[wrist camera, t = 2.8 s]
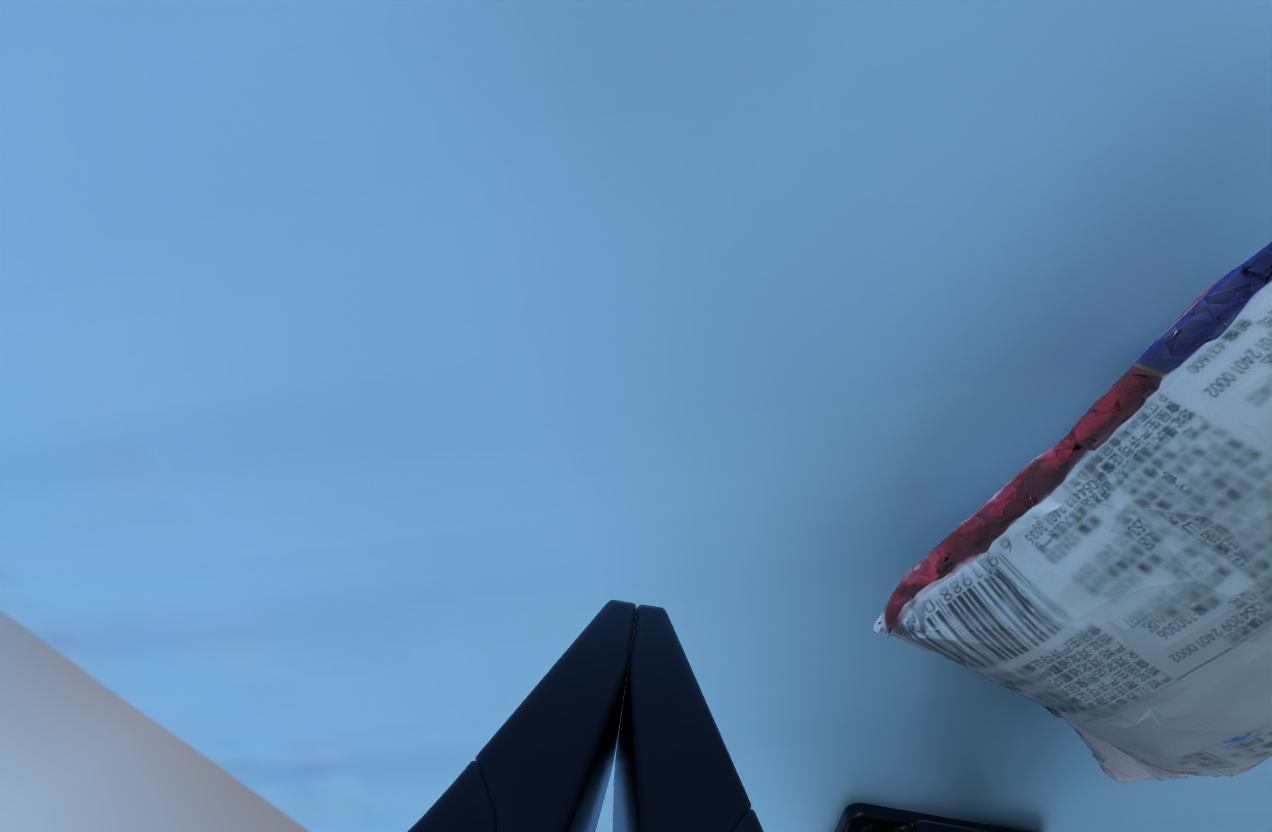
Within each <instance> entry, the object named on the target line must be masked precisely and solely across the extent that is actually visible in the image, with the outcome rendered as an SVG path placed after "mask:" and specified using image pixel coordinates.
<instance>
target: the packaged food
mask: <svg viewBox="0 0 1272 832" xmlns="http://www.w3.org/2000/svg"><path fill="white" fill-rule="evenodd" d="M873 631H875V632H877V633H878V632H879V631H884V632H886V633H887V637H888V636H889V634H891V635H894V636H896V637H898V638H901V639H903V640H905V641H906V642H908V643H910V644H912V645H913V646H915V647H918V648H920V649H922V650H930V651H935V652H938V653H940V654H942V655H944V656H946V657H947V658H949V659H951V660H953V661H955V662H957V663H959V664H961V665H963V666H965V667H967V668H969V669H971V670H974V671H976V672H977V673H979V674H981V675H983V676H984V677H986V678H988V679H989V680H991V681H994V682H996V683H998V684H1000V685H1003V686H1005V687H1007V688H1009V689H1011V690H1013V691H1015V692H1017V693H1019V694H1021V695H1023V696H1025V697H1027V698H1029V699H1031V700H1033V701H1035V702H1037V703H1039V704H1041V705H1042V706H1044V707H1045V708H1046V709H1047V710H1049V711H1050V712H1051V713H1052V714H1054V715H1055V716H1056V717H1059V718H1064V719H1065V720H1066V721H1067V723H1068V724H1069V725H1070V726H1072V727H1073V728H1074V729H1075V731H1076V732H1077V733H1078V735H1079V736H1080V738H1081V739H1082V740H1083V741H1084V743H1085V744H1086V745H1087V746H1088V747H1089V748H1090V749H1091V751H1092V752H1093V757H1094V758H1096V759H1097V760H1098V761H1099V762H1100V767H1101V768H1102V770H1103V771H1104V772H1105V773H1106V774H1107V775H1109V776H1110V777H1111V778H1112V779H1114V780H1115V781H1116V782H1122V783H1128V782H1134V781H1139V780H1145V779H1151V778H1152V777H1154V778H1156V779H1158V780H1160V781H1164V780H1168V779H1173V778H1174V779H1176V778H1188V776H1189V774H1191V775H1196V776H1201V775H1210V776H1213V777H1218V776H1222V775H1226V776H1231V777H1232V776H1234V775H1235V774H1239V773H1242V772H1245V771H1247V770H1250V769H1251V768H1253V767H1254V766H1256V765H1257V764H1259V763H1260V762H1262V761H1263V760H1265V759H1267V758H1268V757H1269V756H1271V755H1272V242H1271V243H1270V244H1269V245H1267V246H1266V247H1265V248H1263V249H1262V250H1261V251H1259V252H1258V253H1257V254H1256V255H1254V256H1253V257H1252V258H1250V259H1249V260H1248V261H1246V262H1245V263H1244V264H1242V265H1241V266H1239V267H1237V268H1236V269H1234V270H1233V271H1231V272H1229V273H1228V274H1227V275H1226V276H1225V277H1223V278H1222V279H1221V280H1219V281H1218V282H1217V283H1216V284H1215V285H1213V286H1212V287H1211V288H1210V289H1209V290H1208V291H1206V292H1205V293H1204V294H1203V295H1202V296H1201V297H1199V298H1198V299H1197V300H1196V301H1195V302H1194V303H1193V304H1192V305H1191V306H1190V307H1189V308H1188V309H1187V310H1186V311H1185V312H1184V313H1183V314H1182V315H1181V316H1180V317H1179V318H1178V319H1177V320H1176V321H1175V322H1174V323H1173V324H1172V325H1171V326H1170V327H1169V328H1168V329H1167V330H1166V331H1165V332H1164V333H1163V334H1162V335H1161V336H1160V337H1159V338H1158V339H1157V340H1156V341H1155V342H1154V343H1153V345H1152V346H1151V347H1150V348H1149V349H1148V350H1147V351H1146V352H1145V353H1144V354H1143V355H1142V357H1141V358H1140V359H1139V360H1138V361H1137V362H1136V363H1135V364H1134V365H1133V366H1132V367H1131V369H1130V370H1129V371H1128V372H1127V373H1126V374H1125V375H1124V376H1123V377H1122V378H1121V379H1120V380H1118V381H1117V382H1116V383H1115V384H1114V385H1113V386H1112V387H1111V388H1110V389H1109V390H1108V391H1107V392H1106V393H1104V394H1103V395H1102V396H1101V397H1100V398H1099V399H1098V400H1097V401H1096V402H1095V403H1094V405H1093V406H1092V407H1091V408H1090V410H1089V411H1088V412H1087V413H1086V414H1085V415H1084V416H1083V417H1082V418H1080V419H1079V420H1078V421H1077V422H1076V423H1075V425H1074V427H1073V429H1072V430H1071V432H1070V433H1069V434H1068V435H1067V436H1066V437H1065V438H1064V439H1062V440H1061V441H1060V442H1058V443H1057V444H1056V445H1054V446H1053V447H1052V448H1051V449H1049V450H1048V451H1046V452H1044V453H1043V454H1041V455H1039V456H1038V457H1036V458H1035V459H1033V460H1032V461H1031V462H1030V463H1029V464H1028V465H1027V466H1026V467H1025V468H1024V469H1023V470H1022V471H1021V472H1020V473H1019V474H1018V475H1017V476H1015V477H1014V478H1013V479H1012V480H1011V481H1010V482H1008V483H1007V484H1006V485H1005V486H1003V487H1002V488H1001V489H1000V490H999V491H998V492H997V493H996V494H995V495H994V496H993V497H992V498H991V499H990V500H989V501H988V502H987V503H986V504H985V505H984V506H983V507H982V508H980V509H979V510H978V511H977V512H976V513H975V514H974V515H973V516H972V517H970V518H969V519H967V520H965V521H964V522H962V523H960V524H959V525H958V527H957V528H956V529H955V530H954V531H953V532H952V533H951V534H950V535H949V537H947V538H946V539H945V540H944V541H942V542H941V543H940V544H939V545H938V546H937V547H936V548H935V549H934V550H933V551H931V552H930V553H929V554H928V555H927V556H926V557H925V558H924V559H922V560H921V561H920V562H919V563H917V564H916V565H914V566H913V567H912V568H911V569H910V570H909V571H908V572H907V574H906V575H905V576H904V577H903V579H902V581H901V583H900V585H899V586H898V587H897V588H896V590H895V591H894V592H893V594H892V596H891V598H890V600H889V602H888V604H887V606H886V607H885V609H884V611H883V612H882V614H881V615H880V616H879V618H878V619H877V621H876V622H875V624H874V627H873Z"/></svg>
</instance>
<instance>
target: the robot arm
mask: <svg viewBox="0 0 1272 832" xmlns="http://www.w3.org/2000/svg"><path fill="white" fill-rule="evenodd" d="M635 616H636V618H635ZM634 623H635V625H634ZM633 630H634V632H633ZM632 637H633V638H632ZM631 644H632V645H631ZM630 651H631V652H630ZM629 658H630V659H629ZM628 665H629V666H628ZM627 671H628V672H627ZM626 678H627V679H626ZM625 685H626V686H625ZM624 692H625V693H624ZM623 698H624V700H623ZM622 705H623V707H622ZM621 712H622V714H621ZM620 719H621V721H620ZM619 725H620V728H619ZM618 732H619V734H618ZM617 739H618V741H617ZM616 745H617V749H616ZM615 751H616V758H615V774H614V804H613V832H763V830H762V827H761V825H760V823H759V821H758V818H757V816H756V814H755V812H754V810H752V809H750V808H751V803H750V801H749V799H748V796H747V794H746V792H745V789H744V787H743V785H742V783H741V780H740V778H739V776H738V774H737V771H736V769H735V767H734V764H733V762H732V760H731V758H730V755H729V753H728V751H727V748H726V746H725V744H724V742H723V739H722V737H721V735H720V733H719V730H718V728H717V726H716V723H715V721H714V719H713V717H712V714H711V712H710V710H709V708H708V705H707V703H706V701H705V698H704V696H703V694H702V692H701V689H700V687H699V685H698V683H697V680H696V678H695V676H694V673H693V671H692V669H691V667H690V664H689V662H688V660H687V658H686V655H685V653H684V651H683V648H682V646H681V644H680V642H679V639H678V637H677V635H676V633H675V630H674V628H673V626H672V623H671V621H670V619H669V617H668V614H667V612H666V611H665V609H663V608H661V607H655V606H648V605H639V606H638V607H637V611H636V605H635V604H634V603H630V602H624V601H617V600H611V601H609V602H608V603H607V604H606V605H605V606H604V607H603V608H602V610H601V611H600V612H599V613H598V614H597V615H596V617H595V618H594V619H593V620H592V621H591V623H590V624H589V625H588V626H587V627H586V628H585V630H584V631H583V632H582V633H581V634H580V635H579V637H578V638H577V639H576V640H575V641H574V642H573V644H572V645H571V646H570V647H569V648H568V649H567V651H566V652H565V653H564V654H563V655H562V656H561V658H560V659H559V660H558V661H557V662H556V664H555V665H554V666H553V667H552V668H551V669H550V671H549V672H548V673H547V674H546V675H545V676H544V678H543V679H542V680H541V681H540V682H539V683H538V685H537V686H536V687H535V688H534V689H533V690H532V692H531V693H530V694H529V695H528V696H527V697H526V699H525V700H524V701H523V702H522V703H521V705H520V706H519V707H518V708H517V709H516V710H515V712H514V713H513V714H512V715H511V716H510V717H509V719H508V720H507V721H506V722H505V723H504V724H503V726H502V727H501V728H500V729H499V730H498V731H497V733H496V734H495V735H494V736H493V737H492V738H491V740H490V741H489V742H488V743H487V744H486V746H485V747H484V748H483V749H482V750H481V751H480V753H479V754H478V755H477V756H476V761H472V762H471V763H470V764H469V765H468V766H467V767H466V769H465V770H464V771H463V772H462V773H461V774H460V776H459V777H458V778H457V779H456V780H455V781H454V783H453V784H452V785H451V786H450V787H449V788H448V789H447V790H446V792H445V793H444V794H443V795H442V796H441V797H440V798H439V799H438V800H437V801H436V803H435V804H434V805H433V806H432V807H431V808H430V809H429V810H428V811H427V812H426V814H425V815H424V816H423V817H422V818H421V819H420V820H419V821H418V822H417V823H416V824H415V825H414V826H413V827H412V828H411V829H410V830H409V831H408V832H595V831H596V827H597V823H598V819H599V816H600V812H601V808H602V804H603V801H604V797H605V793H606V790H607V786H608V782H609V778H610V774H611V770H612V766H613V762H614V756H615ZM835 832H1027V831H1021V830H1015V829H1009V828H1004V827H998V826H992V825H986V824H980V823H974V822H969V821H963V820H957V819H951V818H945V817H939V816H934V815H928V814H922V813H916V812H910V811H904V810H899V809H893V808H887V807H881V806H875V805H870V804H864V803H855V804H851V805H849V806H847V807H846V808H845V810H844V811H843V814H842V816H841V819H840V821H839V824H838V826H837V829H836V831H835Z"/></svg>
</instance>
